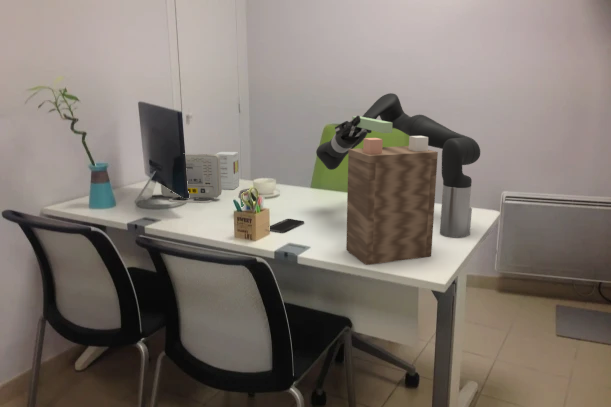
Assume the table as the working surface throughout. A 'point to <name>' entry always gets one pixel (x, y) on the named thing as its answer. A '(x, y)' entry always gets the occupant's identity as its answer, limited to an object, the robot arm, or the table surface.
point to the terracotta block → (372, 145)
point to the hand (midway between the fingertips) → (364, 118)
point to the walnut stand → (390, 204)
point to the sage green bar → (375, 125)
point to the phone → (285, 225)
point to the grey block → (418, 143)
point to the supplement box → (229, 170)
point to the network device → (200, 178)
